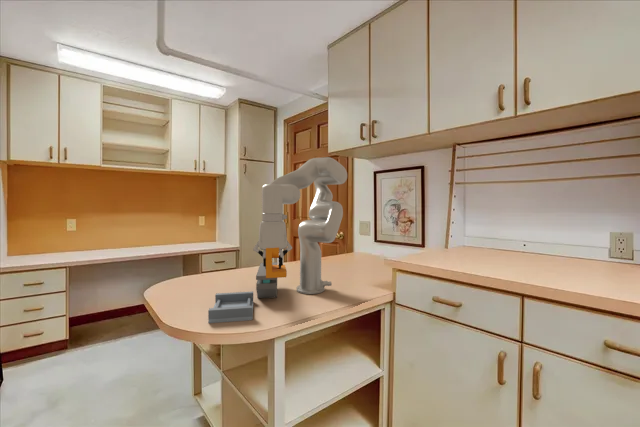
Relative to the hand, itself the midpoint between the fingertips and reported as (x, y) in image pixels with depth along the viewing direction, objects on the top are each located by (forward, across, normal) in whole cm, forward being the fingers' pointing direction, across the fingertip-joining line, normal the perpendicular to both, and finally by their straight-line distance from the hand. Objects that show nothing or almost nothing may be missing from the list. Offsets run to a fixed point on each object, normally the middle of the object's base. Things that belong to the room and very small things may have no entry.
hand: (273, 267), depth 107 cm
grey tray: (+16, +14, 0) cm, 21 cm away
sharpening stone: (+16, +1, -20) cm, 25 cm away
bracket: (+3, -1, 0) cm, 3 cm away
